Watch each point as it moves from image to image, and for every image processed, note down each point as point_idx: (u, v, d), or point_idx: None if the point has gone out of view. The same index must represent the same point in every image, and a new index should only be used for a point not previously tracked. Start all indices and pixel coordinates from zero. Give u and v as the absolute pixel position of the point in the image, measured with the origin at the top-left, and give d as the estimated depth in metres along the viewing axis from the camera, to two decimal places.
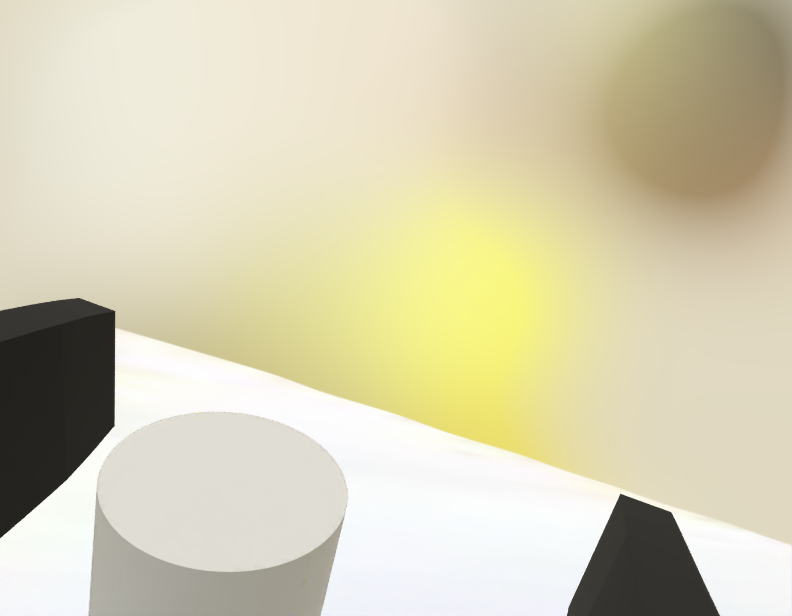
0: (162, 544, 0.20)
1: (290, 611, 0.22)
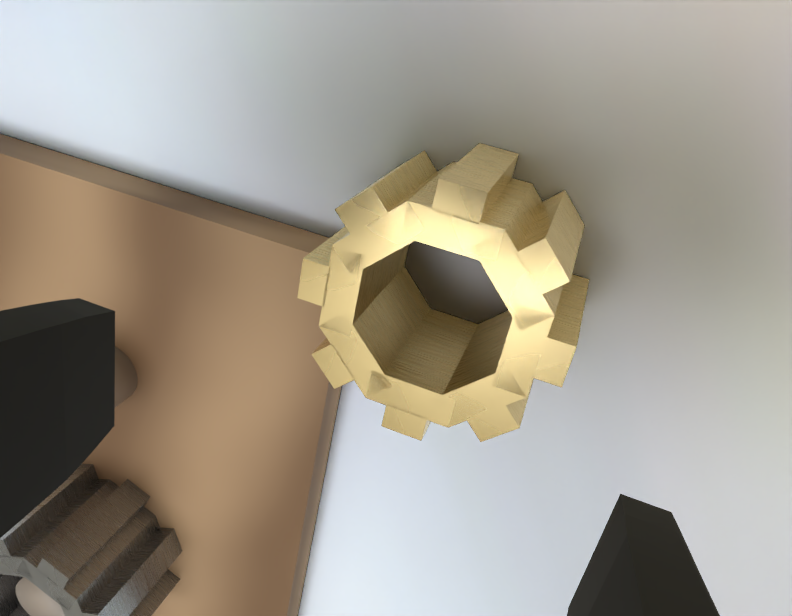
0: None
1: None
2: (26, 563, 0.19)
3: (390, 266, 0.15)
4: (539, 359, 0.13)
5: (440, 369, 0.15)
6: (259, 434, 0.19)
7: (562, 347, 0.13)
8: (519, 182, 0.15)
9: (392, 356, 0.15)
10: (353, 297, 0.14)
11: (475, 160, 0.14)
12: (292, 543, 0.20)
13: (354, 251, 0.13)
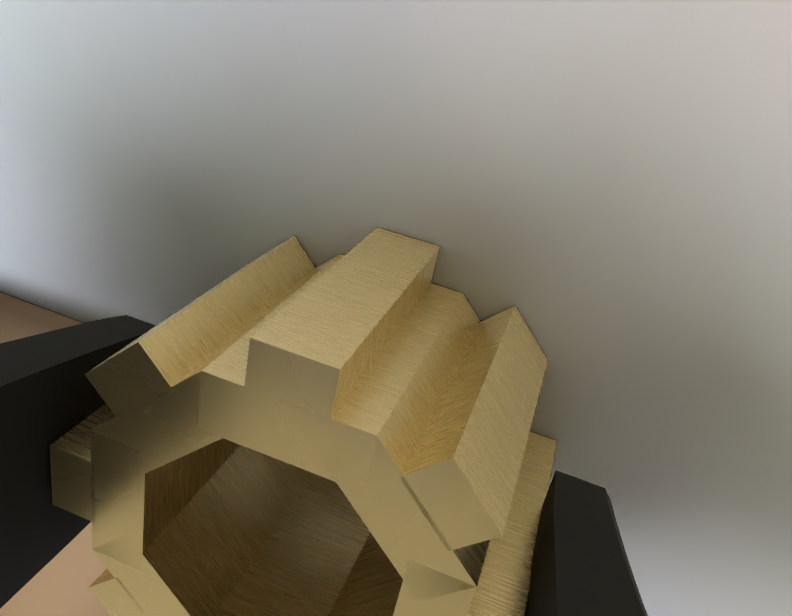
0: None
1: None
2: None
3: None
4: None
5: (308, 606, 0.09)
6: None
7: None
8: (441, 293, 0.09)
9: (227, 585, 0.09)
10: (137, 514, 0.08)
11: (352, 273, 0.08)
12: None
13: (127, 444, 0.07)
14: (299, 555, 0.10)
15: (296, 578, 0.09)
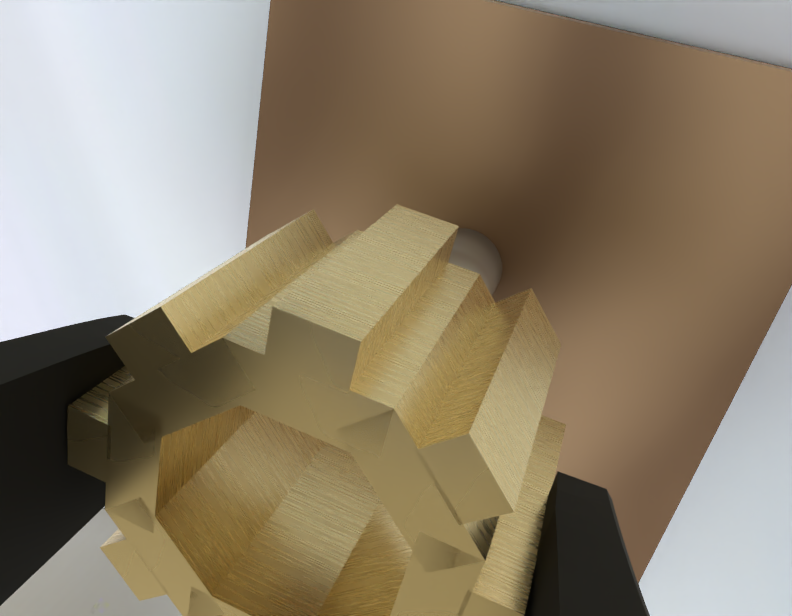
0: None
1: None
2: None
3: None
4: None
5: (314, 575, 0.09)
6: (670, 339, 0.15)
7: (499, 612, 0.07)
8: (458, 272, 0.09)
9: (235, 550, 0.09)
10: (151, 477, 0.08)
11: (372, 248, 0.08)
12: (679, 481, 0.16)
13: (145, 407, 0.07)
14: (306, 525, 0.10)
15: (303, 547, 0.09)
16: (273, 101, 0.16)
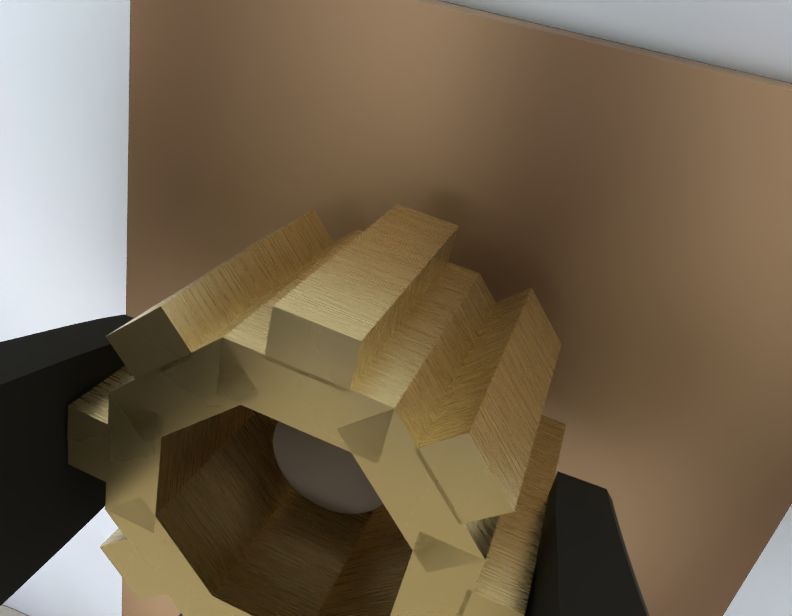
0: None
1: None
2: None
3: None
4: None
5: (314, 574, 0.09)
6: (680, 465, 0.11)
7: (499, 612, 0.07)
8: (458, 272, 0.09)
9: (235, 550, 0.09)
10: (151, 477, 0.08)
11: (372, 248, 0.08)
12: None
13: (145, 407, 0.07)
14: (306, 525, 0.10)
15: (303, 547, 0.09)
16: (145, 136, 0.12)
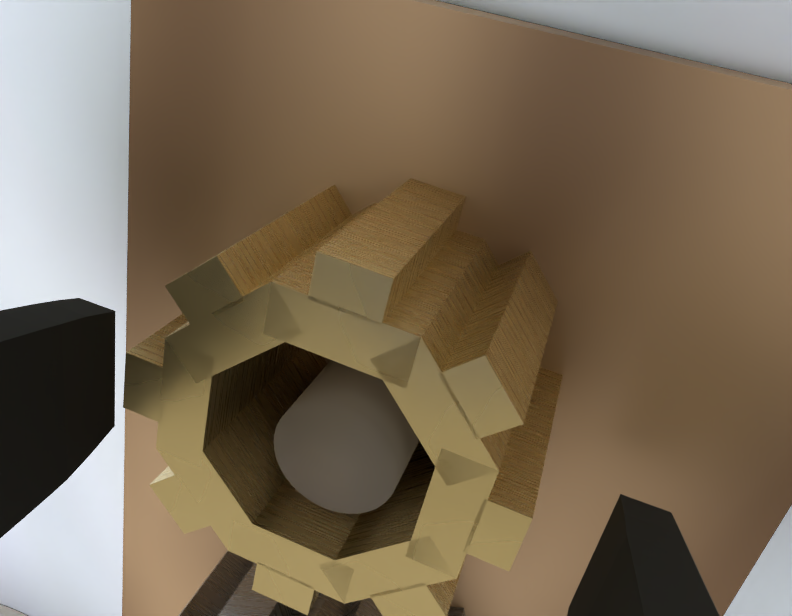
0: None
1: None
2: None
3: (280, 349, 0.11)
4: (475, 529, 0.08)
5: None
6: (680, 465, 0.11)
7: (510, 517, 0.08)
8: (465, 237, 0.10)
9: (270, 487, 0.10)
10: (201, 414, 0.09)
11: (393, 211, 0.09)
12: None
13: (198, 349, 0.09)
14: None
15: None
16: (145, 137, 0.12)
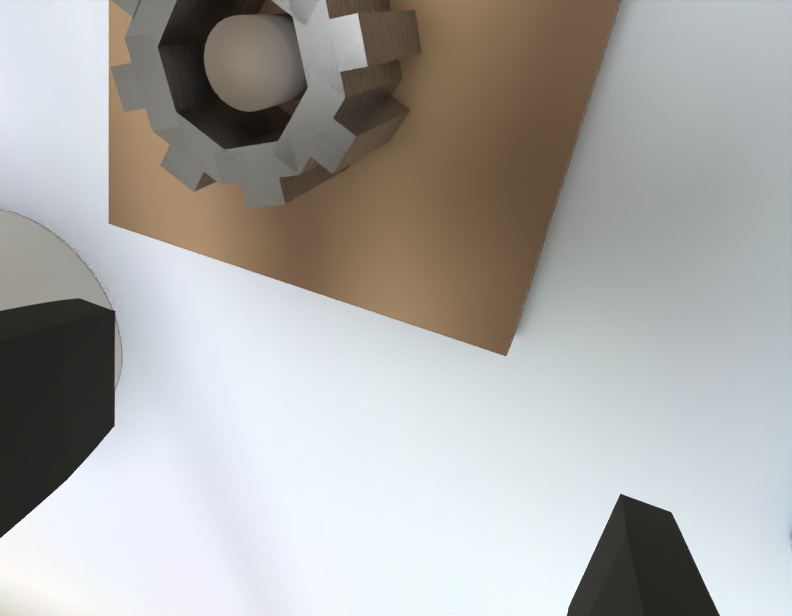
0: None
1: None
2: None
3: None
4: None
5: None
6: None
7: None
8: None
9: None
10: None
11: None
12: None
13: None
14: None
15: None
16: None
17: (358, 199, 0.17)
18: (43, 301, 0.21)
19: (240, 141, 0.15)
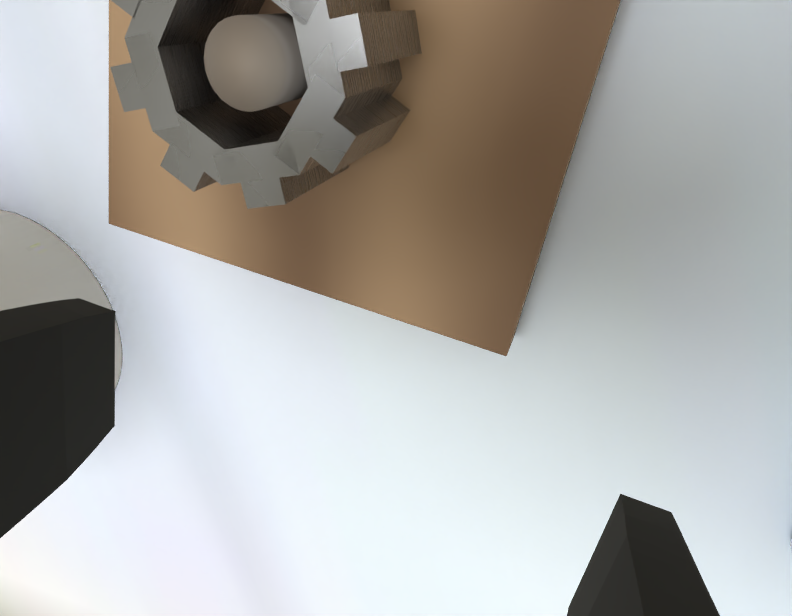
0: None
1: None
2: None
3: None
4: None
5: None
6: None
7: None
8: None
9: None
10: None
11: None
12: None
13: None
14: None
15: None
16: None
17: (358, 199, 0.17)
18: (43, 301, 0.21)
19: (240, 141, 0.15)
